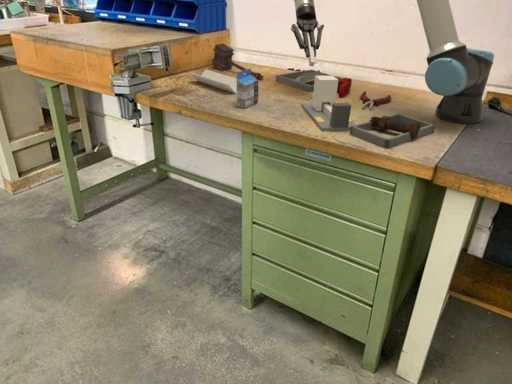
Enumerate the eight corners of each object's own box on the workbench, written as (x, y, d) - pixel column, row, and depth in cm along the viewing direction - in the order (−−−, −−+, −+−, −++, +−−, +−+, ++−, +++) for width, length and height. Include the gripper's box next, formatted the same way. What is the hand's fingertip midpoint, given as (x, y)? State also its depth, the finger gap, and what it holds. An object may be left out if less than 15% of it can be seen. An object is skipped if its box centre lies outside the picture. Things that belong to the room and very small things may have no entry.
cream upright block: (312, 106, 149) (315, 75, 144) (329, 105, 150) (332, 75, 145) (316, 111, 144) (320, 79, 139) (334, 110, 145) (338, 79, 140)
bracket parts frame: (346, 85, 182) (347, 79, 181) (310, 92, 170) (310, 86, 169) (311, 74, 197) (311, 69, 196) (275, 80, 185) (275, 75, 184)
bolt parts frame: (433, 132, 133) (435, 124, 132) (386, 148, 120) (388, 140, 118) (396, 120, 142) (397, 113, 141) (349, 133, 129) (350, 126, 128)
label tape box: (245, 108, 148) (246, 74, 142) (235, 106, 150) (236, 72, 144) (258, 103, 155) (259, 69, 149) (249, 101, 157) (250, 67, 151)
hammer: (221, 63, 207) (224, 43, 201) (266, 90, 190) (270, 69, 184) (211, 64, 203) (213, 44, 197) (255, 92, 186) (258, 71, 180)
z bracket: (206, 89, 185) (213, 77, 186) (243, 102, 170) (251, 89, 170) (189, 72, 176) (197, 60, 177) (227, 84, 160) (236, 71, 161)
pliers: (349, 109, 153) (350, 102, 152) (362, 96, 169) (363, 90, 168) (381, 115, 149) (382, 107, 147) (391, 101, 165) (392, 94, 163)
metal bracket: (324, 67, 187) (322, 74, 174) (326, 80, 189) (325, 88, 177) (293, 74, 191) (289, 82, 178) (295, 86, 194) (292, 95, 181)
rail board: (301, 106, 153) (303, 84, 149) (332, 105, 155) (335, 84, 151) (321, 131, 131) (324, 106, 127) (358, 130, 132) (362, 105, 129)
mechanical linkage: (342, 98, 164) (343, 86, 161) (325, 95, 167) (326, 83, 165) (355, 90, 176) (357, 78, 173) (339, 87, 179) (341, 75, 177)
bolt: (370, 131, 136) (415, 141, 128) (365, 127, 132) (411, 137, 124) (376, 114, 136) (422, 123, 127) (371, 109, 132) (418, 119, 123)
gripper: (318, 17, 166) (326, 69, 160) (287, 17, 165) (293, 69, 158) (324, 4, 159) (332, 58, 153) (290, 3, 157) (297, 58, 151)
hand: (312, 64), depth 156 cm, fingers closed
